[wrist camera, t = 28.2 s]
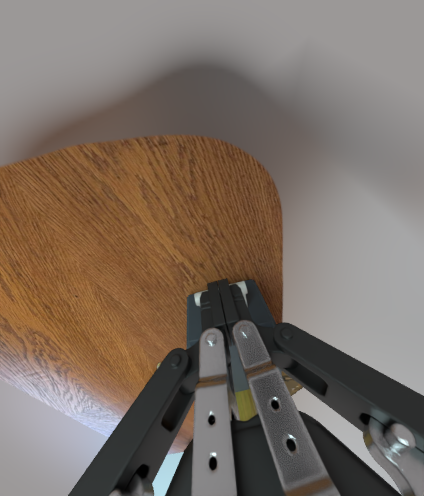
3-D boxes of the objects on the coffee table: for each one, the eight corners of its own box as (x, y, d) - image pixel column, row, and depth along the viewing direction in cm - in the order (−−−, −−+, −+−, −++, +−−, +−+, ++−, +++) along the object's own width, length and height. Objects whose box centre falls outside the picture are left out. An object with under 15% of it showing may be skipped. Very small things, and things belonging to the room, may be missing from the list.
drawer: (180, 274, 26) (176, 319, 19) (248, 257, 26) (270, 295, 19) (206, 337, 34) (210, 384, 27) (258, 324, 34) (275, 368, 27)
